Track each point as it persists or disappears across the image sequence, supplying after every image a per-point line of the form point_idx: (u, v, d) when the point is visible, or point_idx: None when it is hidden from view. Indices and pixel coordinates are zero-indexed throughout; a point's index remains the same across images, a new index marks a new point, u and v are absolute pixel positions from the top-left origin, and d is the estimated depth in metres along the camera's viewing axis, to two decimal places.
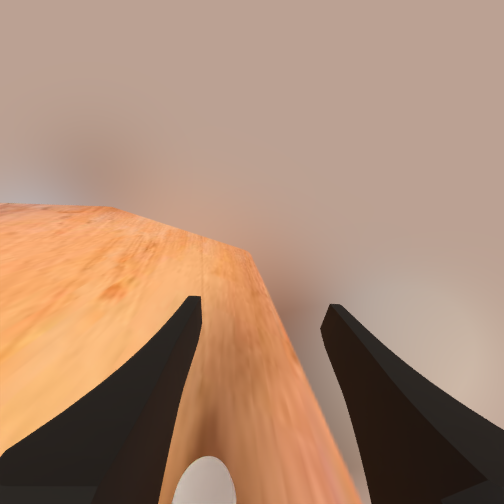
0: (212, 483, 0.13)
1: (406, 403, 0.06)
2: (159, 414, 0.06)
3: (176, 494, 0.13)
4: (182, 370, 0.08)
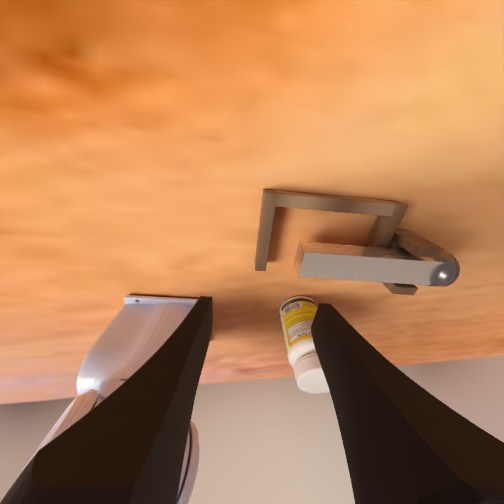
0: (325, 385, 0.17)
1: (387, 403, 0.06)
2: (178, 415, 0.06)
3: None
4: (196, 371, 0.08)
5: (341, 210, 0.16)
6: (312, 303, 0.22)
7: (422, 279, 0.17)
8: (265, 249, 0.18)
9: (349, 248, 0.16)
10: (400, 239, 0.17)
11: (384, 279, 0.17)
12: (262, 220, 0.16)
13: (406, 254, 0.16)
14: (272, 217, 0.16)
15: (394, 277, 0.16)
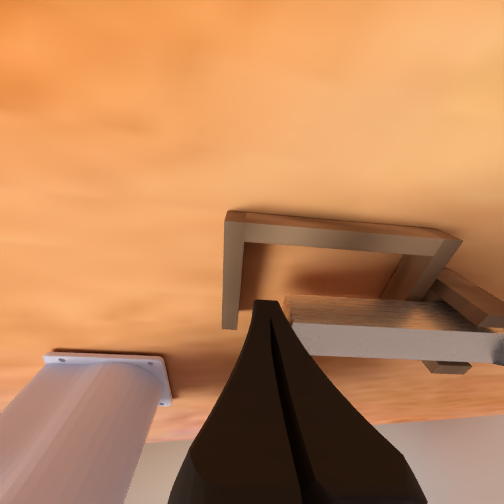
0: None
1: (290, 400, 0.05)
2: None
3: None
4: None
5: (353, 247, 0.10)
6: None
7: (482, 356, 0.10)
8: (234, 302, 0.11)
9: (366, 306, 0.10)
10: (445, 290, 0.11)
11: (421, 356, 0.10)
12: (224, 262, 0.10)
13: (457, 316, 0.10)
14: (240, 258, 0.10)
15: (438, 353, 0.10)
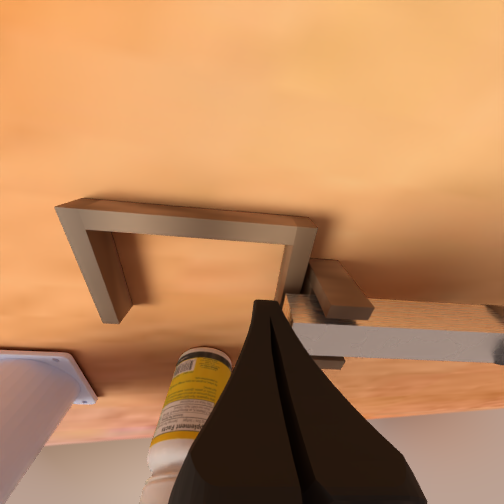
0: None
1: (290, 400, 0.05)
2: None
3: None
4: None
5: (204, 235, 0.09)
6: (215, 361, 0.15)
7: (483, 356, 0.10)
8: (103, 294, 0.11)
9: None
10: (315, 281, 0.10)
11: (422, 356, 0.10)
12: (75, 251, 0.10)
13: (458, 315, 0.10)
14: (89, 247, 0.09)
15: (439, 353, 0.10)
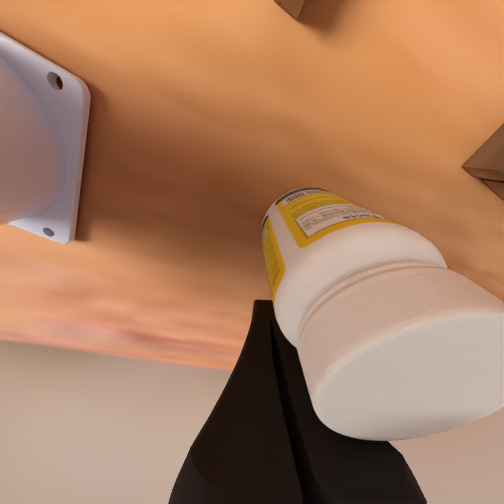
0: (425, 414, 0.04)
1: (289, 400, 0.05)
2: None
3: None
4: None
5: None
6: None
7: None
8: None
9: None
10: None
11: None
12: None
13: None
14: None
15: None
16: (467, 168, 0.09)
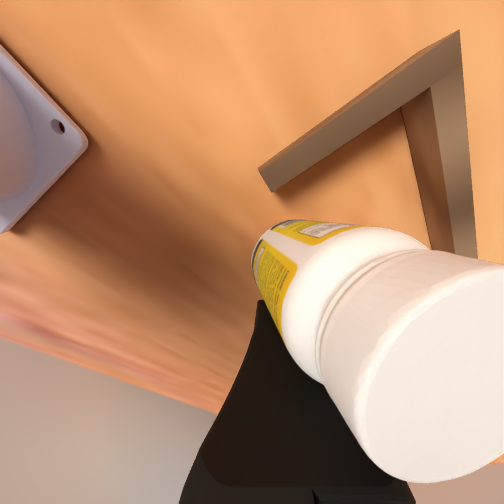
0: (474, 426, 0.03)
1: (281, 400, 0.05)
2: None
3: None
4: None
5: (452, 212, 0.09)
6: None
7: None
8: (319, 151, 0.08)
9: None
10: None
11: None
12: (385, 84, 0.07)
13: None
14: (401, 102, 0.07)
15: None
16: None
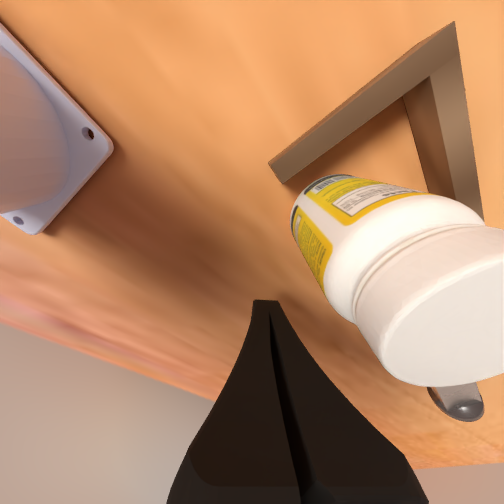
0: (480, 356, 0.04)
1: (291, 400, 0.05)
2: None
3: None
4: None
5: (458, 195, 0.09)
6: None
7: (453, 404, 0.15)
8: (326, 142, 0.08)
9: None
10: None
11: None
12: (386, 76, 0.07)
13: None
14: (402, 91, 0.07)
15: (446, 389, 0.14)
16: None
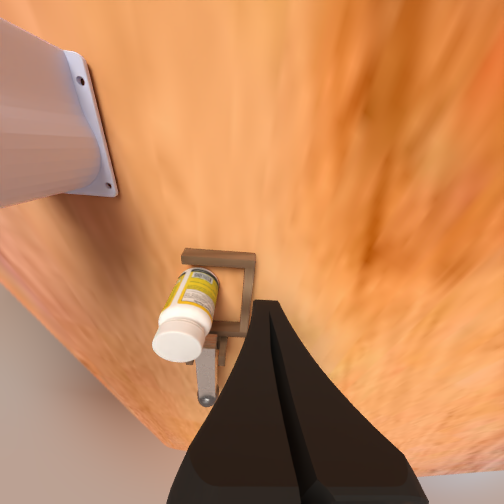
0: (176, 354, 0.16)
1: (291, 400, 0.05)
2: None
3: (196, 342, 0.15)
4: None
5: (242, 307, 0.22)
6: (218, 289, 0.22)
7: (202, 395, 0.28)
8: (205, 263, 0.19)
9: (216, 359, 0.26)
10: (224, 341, 0.25)
11: (199, 382, 0.26)
12: (233, 259, 0.19)
13: (216, 381, 0.28)
14: (236, 266, 0.20)
15: (201, 385, 0.26)
16: None
